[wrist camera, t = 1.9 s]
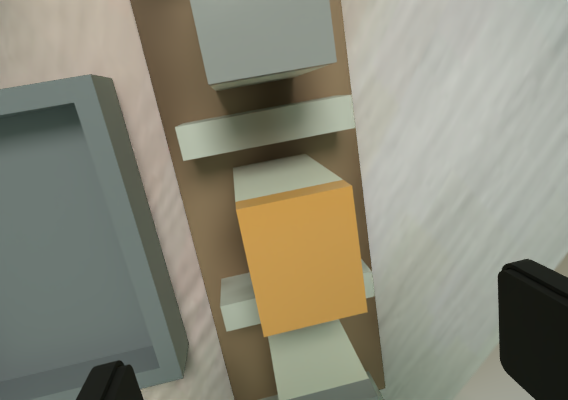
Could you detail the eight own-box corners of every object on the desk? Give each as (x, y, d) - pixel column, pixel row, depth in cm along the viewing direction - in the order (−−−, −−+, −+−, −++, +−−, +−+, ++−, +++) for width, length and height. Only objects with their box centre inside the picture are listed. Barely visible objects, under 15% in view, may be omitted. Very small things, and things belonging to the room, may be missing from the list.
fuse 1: (276, -31, 18) (313, -132, 10) (293, 77, 19) (337, 62, 11) (192, -19, 17) (164, -114, 10) (216, 91, 19) (208, 84, 11)
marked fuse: (304, 153, 20) (351, 185, 12) (317, 237, 22) (367, 312, 14) (232, 167, 20) (236, 209, 12) (251, 251, 21) (263, 337, 13)
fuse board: (323, -104, 18) (348, -156, 14) (380, 379, 26) (405, 425, 22) (113, -76, 17) (81, -125, 13) (241, 416, 25) (243, 469, 21)
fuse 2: (327, 296, 23) (378, 396, 15) (337, 363, 24) (388, 485, 16) (263, 311, 22) (282, 421, 15) (278, 378, 24) (302, 510, 16)
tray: (111, 78, 18) (90, 74, 16) (188, 343, 23) (183, 378, 20) (-147, 121, 17) (-221, 126, 14) (-13, 392, 22) (-49, 436, 19)
